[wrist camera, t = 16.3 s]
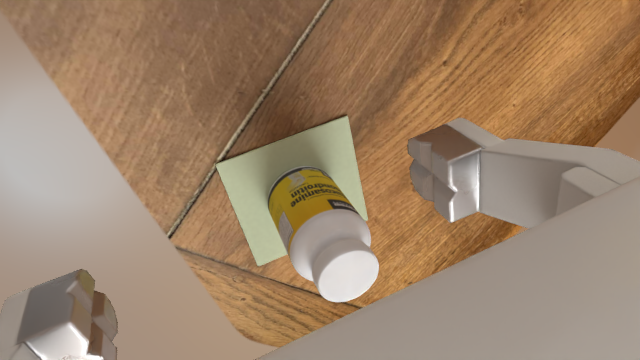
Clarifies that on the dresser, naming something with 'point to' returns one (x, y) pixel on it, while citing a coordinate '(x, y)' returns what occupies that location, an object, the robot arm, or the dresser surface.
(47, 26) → the dresser surface
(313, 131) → the mat
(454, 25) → the dresser surface
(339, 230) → the pill bottle
